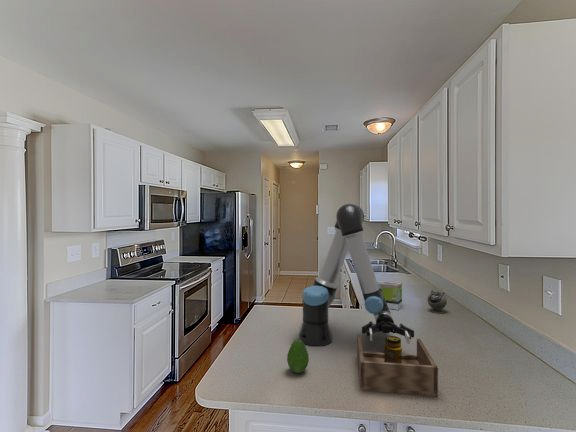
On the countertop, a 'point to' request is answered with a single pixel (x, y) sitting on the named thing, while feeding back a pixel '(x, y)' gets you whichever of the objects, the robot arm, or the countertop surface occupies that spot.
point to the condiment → (393, 350)
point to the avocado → (297, 356)
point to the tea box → (392, 294)
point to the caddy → (398, 372)
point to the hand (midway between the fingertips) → (389, 338)
